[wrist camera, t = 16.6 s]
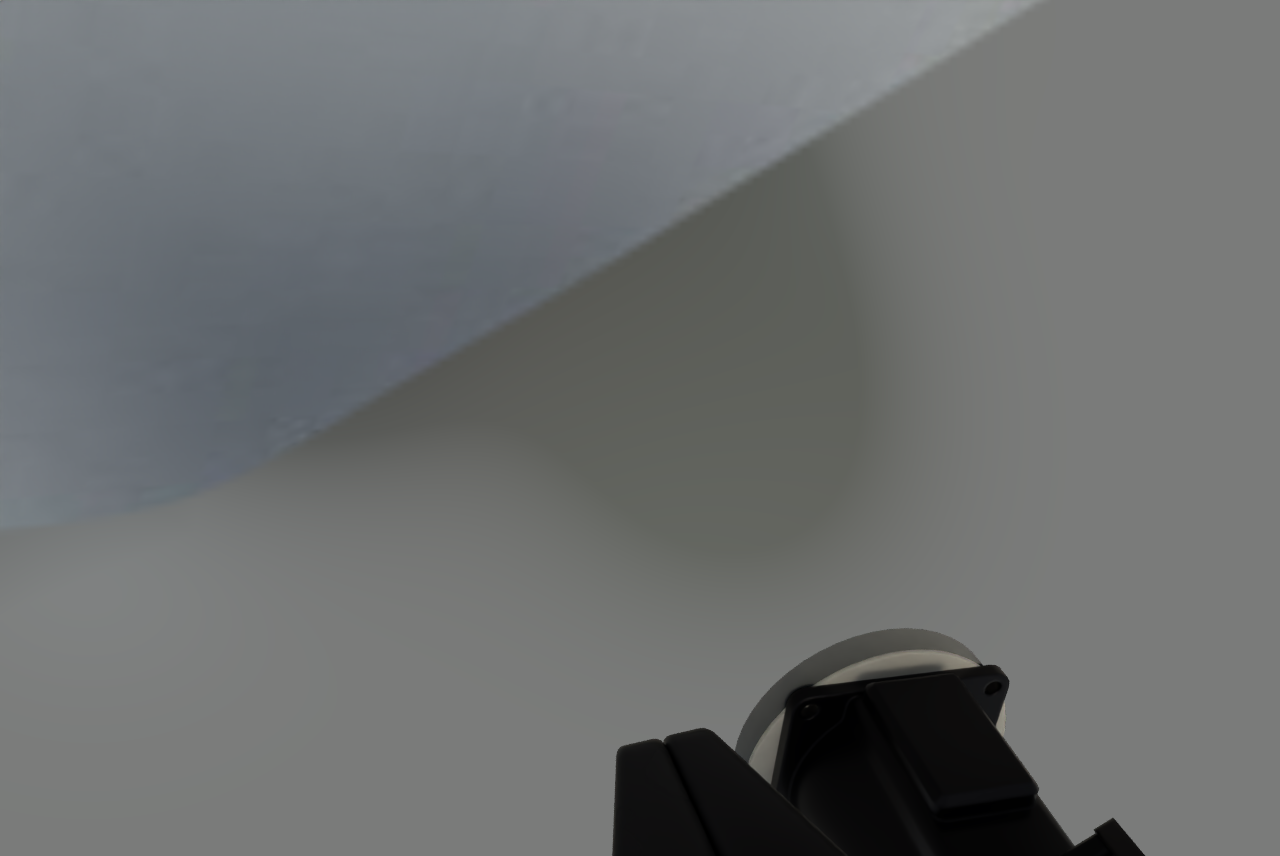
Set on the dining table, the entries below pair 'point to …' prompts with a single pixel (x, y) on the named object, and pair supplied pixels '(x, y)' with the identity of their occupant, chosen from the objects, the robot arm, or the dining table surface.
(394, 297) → the dining table surface
